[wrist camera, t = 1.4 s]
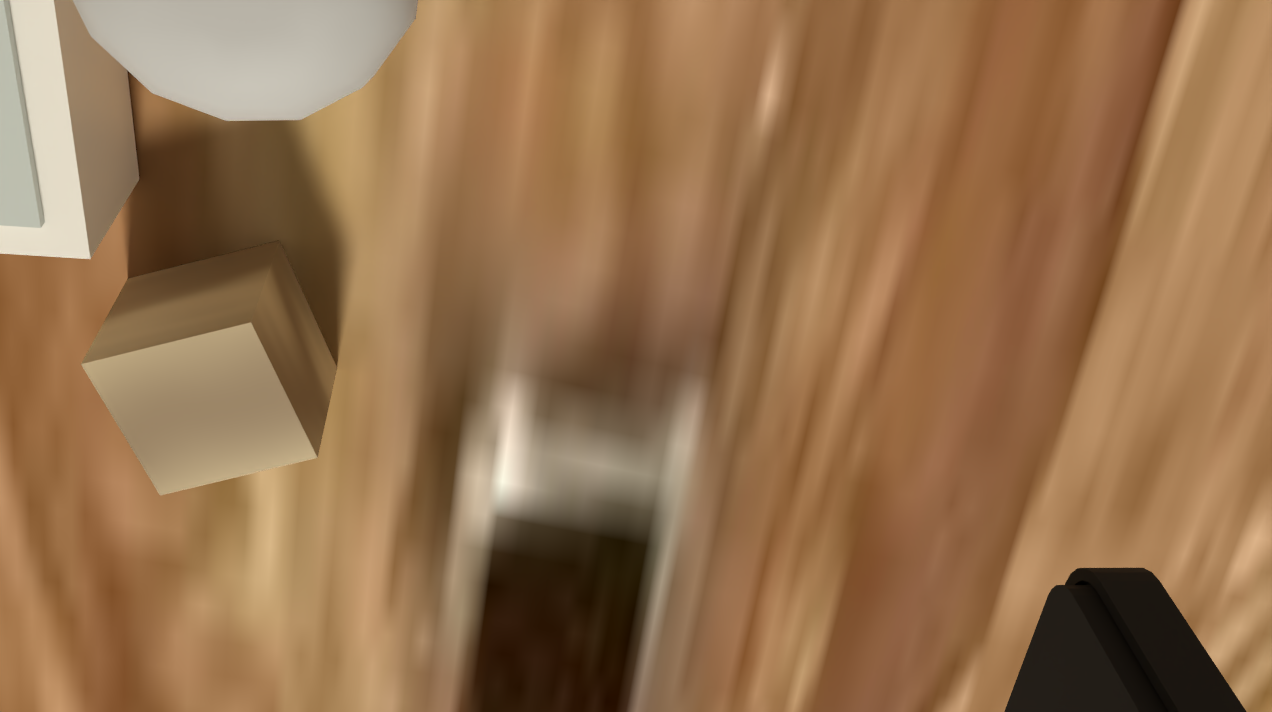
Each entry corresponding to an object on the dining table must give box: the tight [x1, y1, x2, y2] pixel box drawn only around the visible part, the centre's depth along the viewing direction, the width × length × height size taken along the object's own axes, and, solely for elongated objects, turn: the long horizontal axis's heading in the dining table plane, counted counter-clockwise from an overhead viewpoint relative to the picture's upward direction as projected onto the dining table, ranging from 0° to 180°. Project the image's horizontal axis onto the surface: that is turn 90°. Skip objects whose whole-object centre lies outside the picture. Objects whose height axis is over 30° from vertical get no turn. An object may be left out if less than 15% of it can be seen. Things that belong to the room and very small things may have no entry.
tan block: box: [81, 241, 337, 495], centre depth 29 cm, size 4×4×4 cm
